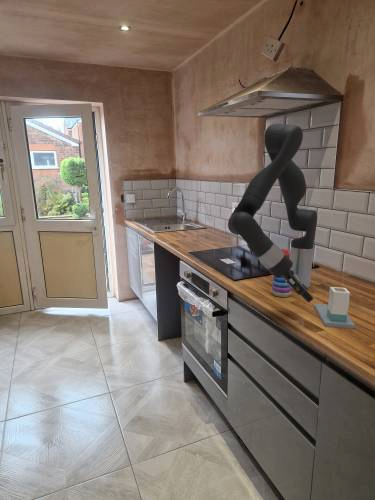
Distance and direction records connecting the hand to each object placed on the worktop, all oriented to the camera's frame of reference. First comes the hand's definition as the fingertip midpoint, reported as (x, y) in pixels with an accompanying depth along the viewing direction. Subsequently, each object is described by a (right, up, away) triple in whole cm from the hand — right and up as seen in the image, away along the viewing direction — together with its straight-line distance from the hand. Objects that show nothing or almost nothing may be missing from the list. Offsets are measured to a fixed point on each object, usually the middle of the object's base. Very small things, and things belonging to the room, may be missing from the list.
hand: (308, 295), depth 106 cm
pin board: (+10, -8, +4) cm, 14 cm away
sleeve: (+9, -8, 0) cm, 12 cm away
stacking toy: (-2, -3, +25) cm, 25 cm away
